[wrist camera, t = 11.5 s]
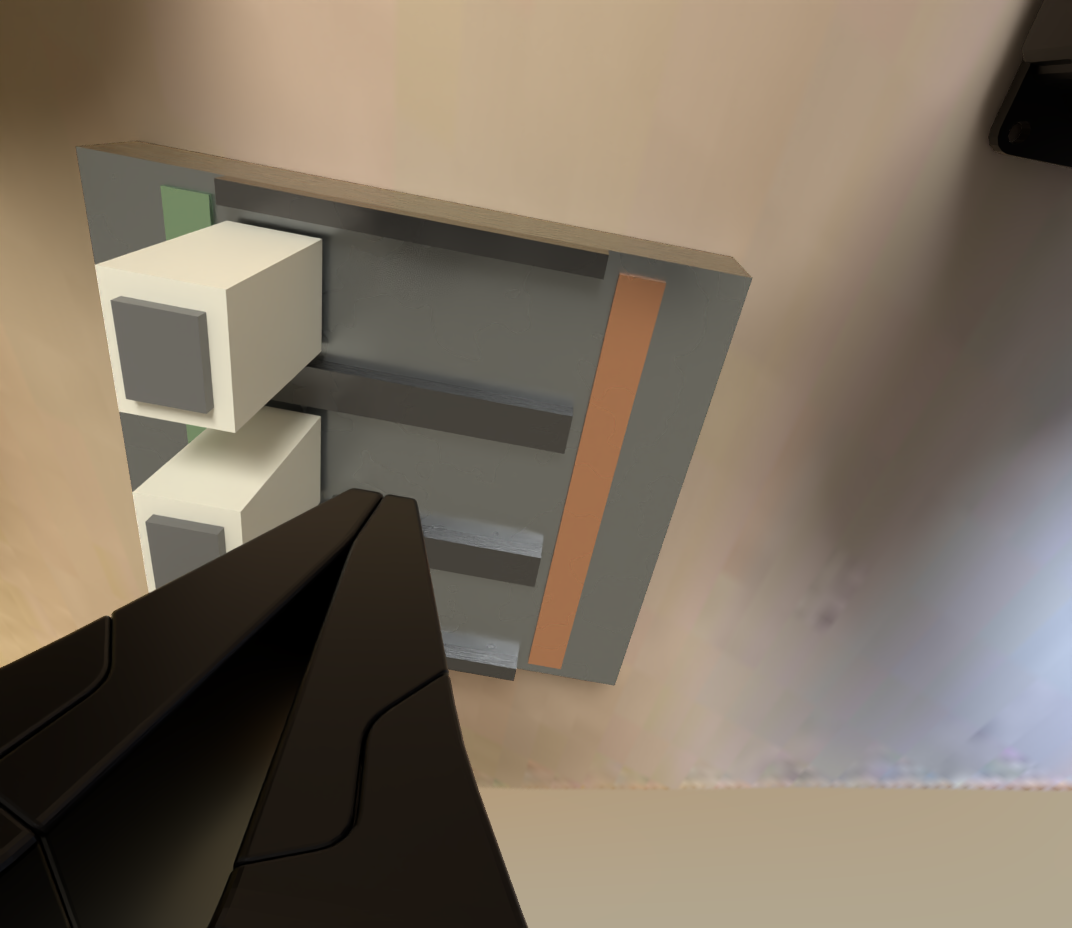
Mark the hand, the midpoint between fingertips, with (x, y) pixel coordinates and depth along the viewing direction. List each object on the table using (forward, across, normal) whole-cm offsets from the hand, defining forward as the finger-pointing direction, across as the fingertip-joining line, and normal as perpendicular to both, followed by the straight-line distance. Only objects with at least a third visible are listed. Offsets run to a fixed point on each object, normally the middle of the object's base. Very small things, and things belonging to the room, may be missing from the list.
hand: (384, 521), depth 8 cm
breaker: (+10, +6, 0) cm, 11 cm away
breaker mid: (+10, +6, +6) cm, 12 cm away
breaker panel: (+12, +2, +6) cm, 14 cm away
